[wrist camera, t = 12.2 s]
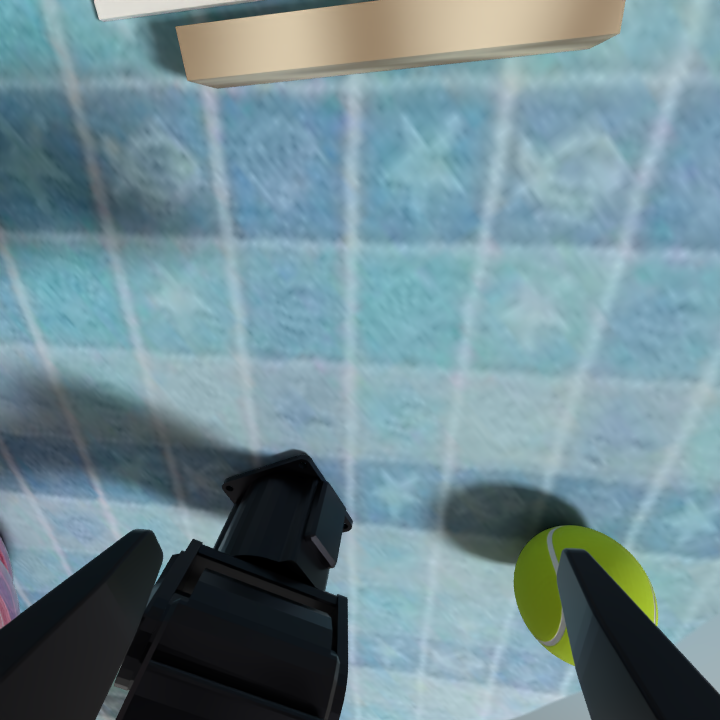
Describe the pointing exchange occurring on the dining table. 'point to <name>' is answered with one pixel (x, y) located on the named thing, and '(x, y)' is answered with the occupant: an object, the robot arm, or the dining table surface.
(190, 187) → the dining table surface
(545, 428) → the dining table surface
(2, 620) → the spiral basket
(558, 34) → the channel
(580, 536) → the tennis ball
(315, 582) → the robot arm
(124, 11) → the pad
